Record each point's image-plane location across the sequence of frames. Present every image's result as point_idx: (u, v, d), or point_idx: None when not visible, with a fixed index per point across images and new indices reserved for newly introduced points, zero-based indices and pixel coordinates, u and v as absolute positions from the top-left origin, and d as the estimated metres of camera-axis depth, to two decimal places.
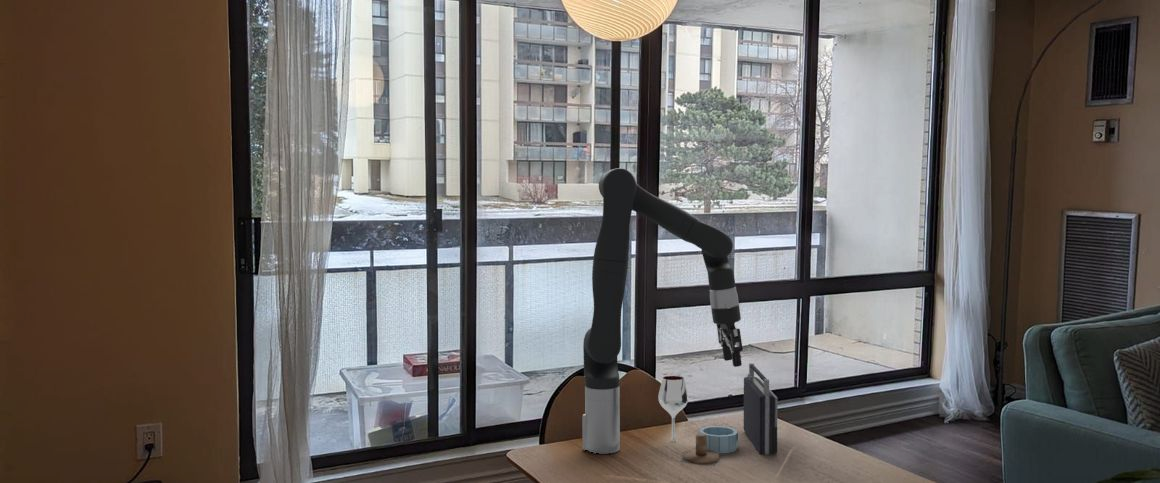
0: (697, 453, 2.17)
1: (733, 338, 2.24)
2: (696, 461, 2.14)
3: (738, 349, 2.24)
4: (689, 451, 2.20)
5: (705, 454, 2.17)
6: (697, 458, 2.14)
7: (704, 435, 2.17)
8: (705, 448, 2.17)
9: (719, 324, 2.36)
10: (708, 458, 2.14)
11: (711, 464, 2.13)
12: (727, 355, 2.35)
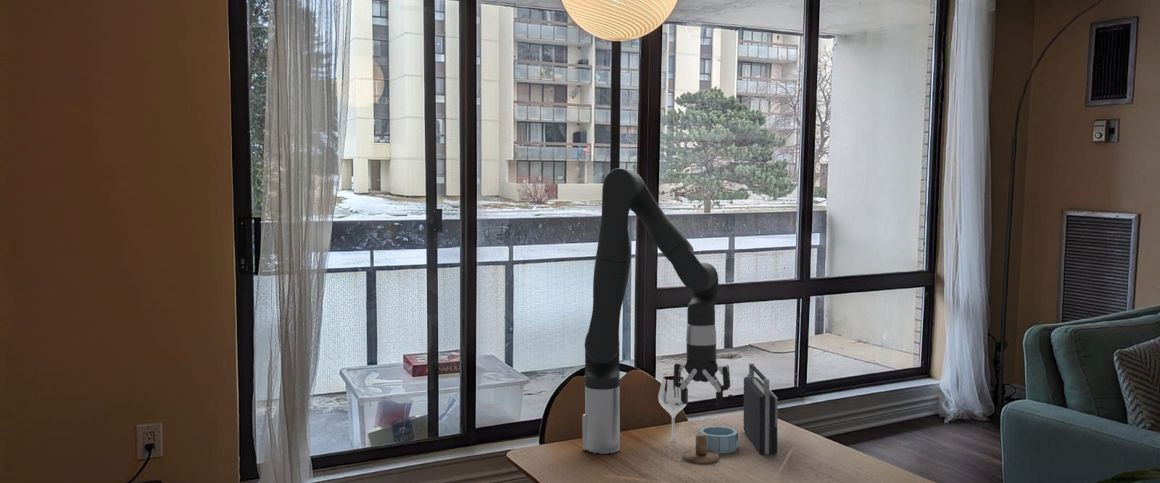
0: (697, 453, 2.17)
1: None
2: (696, 461, 2.14)
3: None
4: (689, 451, 2.20)
5: (705, 454, 2.17)
6: (697, 458, 2.14)
7: (704, 435, 2.17)
8: (705, 448, 2.17)
9: None
10: (708, 458, 2.14)
11: (711, 464, 2.13)
12: None
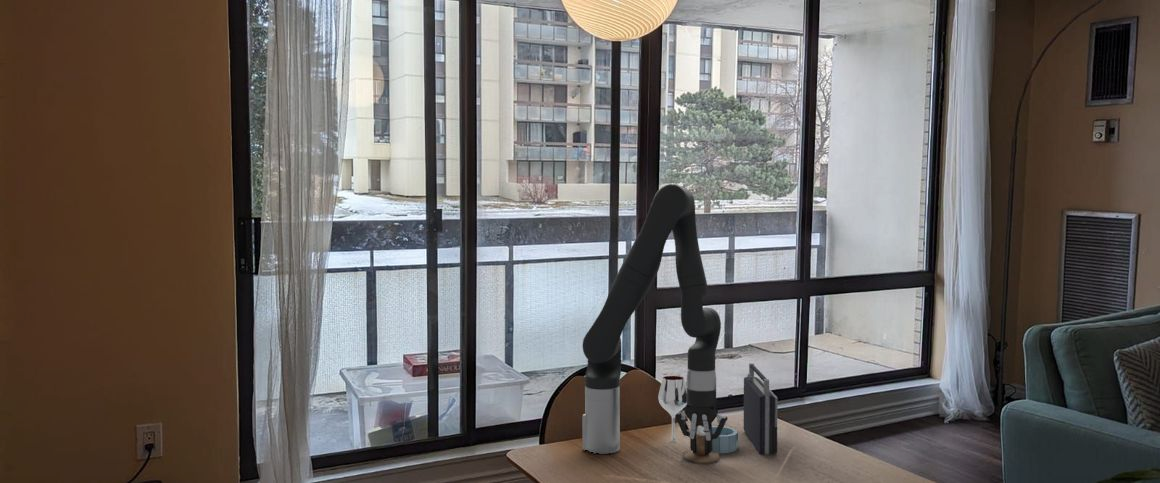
0: (697, 453, 2.17)
1: None
2: (696, 461, 2.14)
3: None
4: (689, 451, 2.20)
5: (705, 454, 2.17)
6: (697, 458, 2.14)
7: (704, 435, 2.17)
8: None
9: None
10: (708, 458, 2.14)
11: (711, 464, 2.13)
12: None
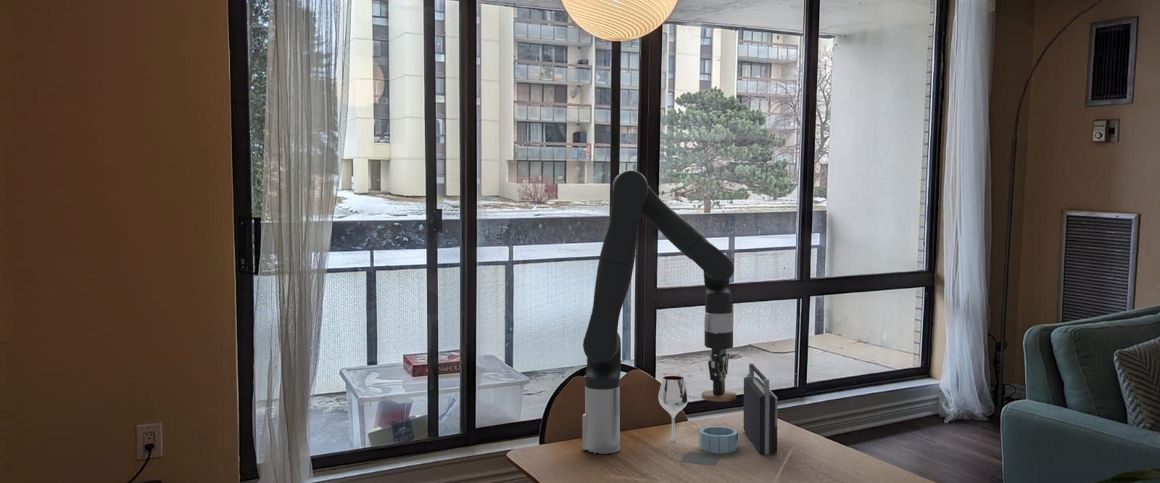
0: (722, 392, 2.25)
1: (710, 369, 2.20)
2: (735, 397, 2.24)
3: (714, 378, 2.21)
4: (710, 396, 2.23)
5: None
6: (731, 395, 2.24)
7: None
8: None
9: None
10: (731, 392, 2.27)
11: (711, 464, 2.13)
12: None
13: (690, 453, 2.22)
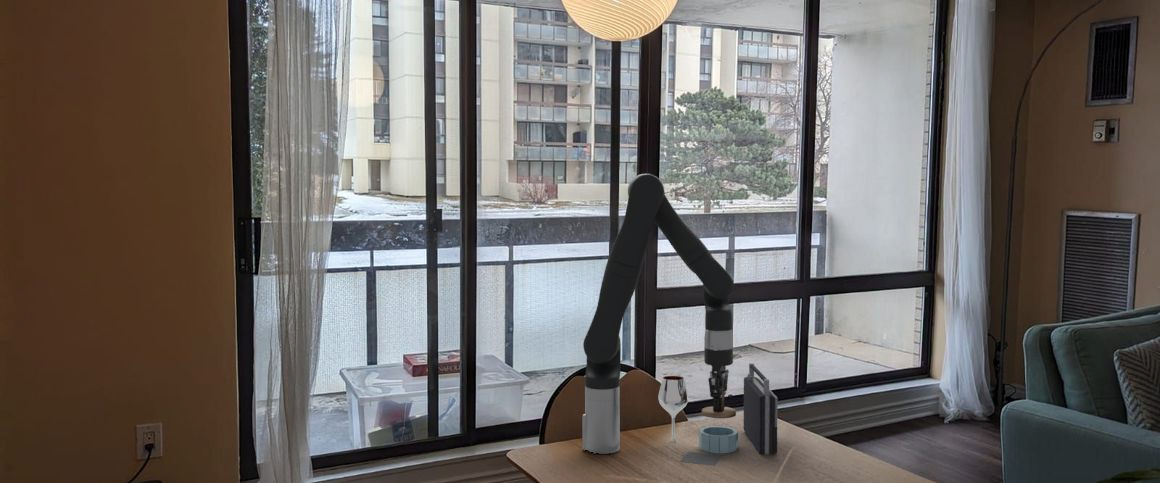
0: (722, 409, 2.25)
1: (710, 386, 2.21)
2: (735, 413, 2.25)
3: (714, 394, 2.22)
4: (710, 413, 2.24)
5: None
6: (731, 411, 2.25)
7: None
8: None
9: None
10: (731, 409, 2.28)
11: (711, 464, 2.13)
12: None
13: (690, 453, 2.22)
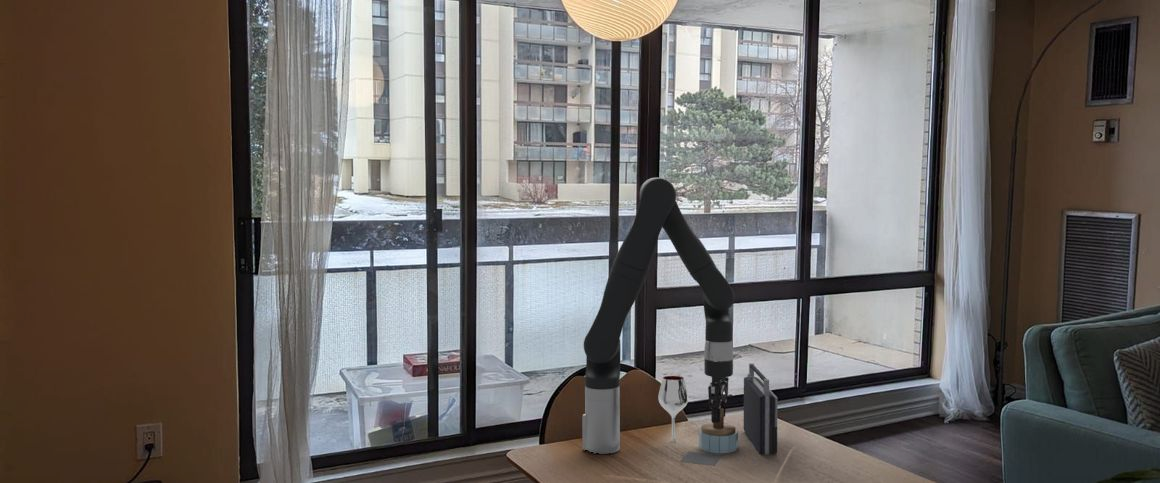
0: (722, 426, 2.26)
1: (709, 395, 2.21)
2: (734, 431, 2.25)
3: (713, 405, 2.21)
4: (710, 430, 2.24)
5: None
6: (731, 428, 2.26)
7: None
8: None
9: None
10: (731, 426, 2.28)
11: (711, 464, 2.13)
12: None
13: (690, 453, 2.22)
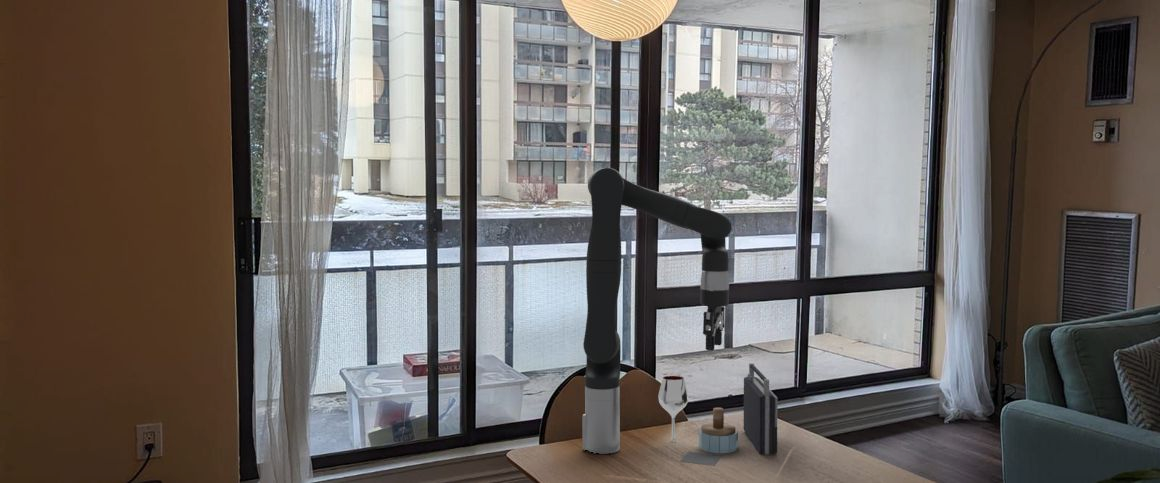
0: (722, 426, 2.26)
1: (704, 320, 2.22)
2: (734, 431, 2.25)
3: (707, 332, 2.21)
4: (710, 430, 2.24)
5: None
6: (731, 428, 2.26)
7: (718, 408, 2.28)
8: None
9: None
10: (731, 426, 2.28)
11: (711, 464, 2.13)
12: (716, 340, 2.32)
13: (690, 453, 2.22)
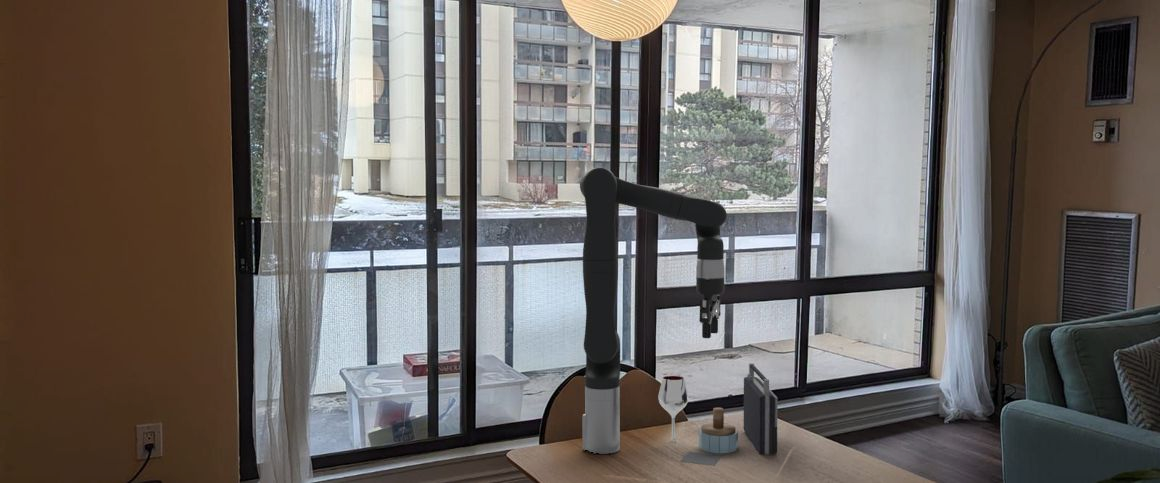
0: (722, 426, 2.26)
1: (701, 308, 2.23)
2: (734, 431, 2.25)
3: (704, 320, 2.23)
4: (710, 430, 2.24)
5: None
6: (731, 428, 2.26)
7: (718, 408, 2.28)
8: None
9: None
10: (731, 426, 2.28)
11: (711, 464, 2.13)
12: (713, 328, 2.33)
13: (690, 453, 2.22)
